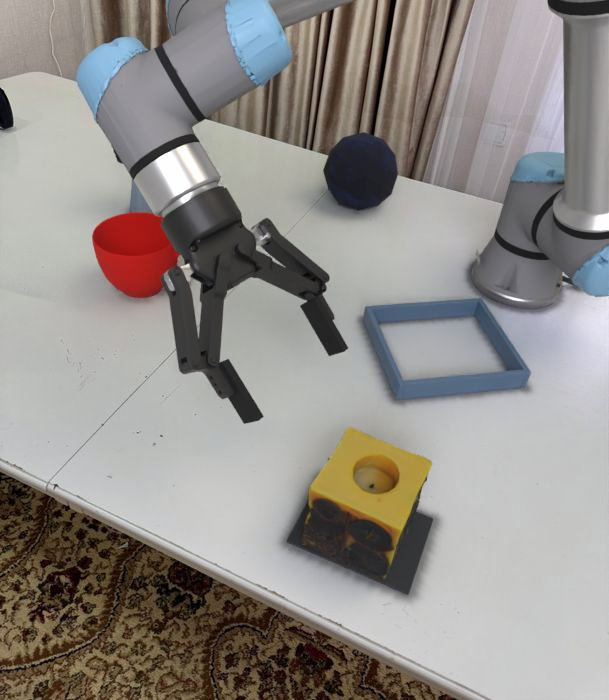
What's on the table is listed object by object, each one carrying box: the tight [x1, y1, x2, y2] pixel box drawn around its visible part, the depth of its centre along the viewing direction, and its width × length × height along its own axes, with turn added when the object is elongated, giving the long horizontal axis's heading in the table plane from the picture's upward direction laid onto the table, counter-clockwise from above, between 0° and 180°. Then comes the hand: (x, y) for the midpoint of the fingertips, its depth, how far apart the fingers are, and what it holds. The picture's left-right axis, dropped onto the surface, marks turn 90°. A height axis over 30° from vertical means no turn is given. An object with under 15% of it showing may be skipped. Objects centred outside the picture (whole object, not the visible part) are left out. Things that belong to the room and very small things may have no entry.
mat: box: [286, 499, 434, 596], centre depth 70 cm, size 14×10×1 cm
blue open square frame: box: [362, 297, 532, 401], centre depth 93 cm, size 20×18×3 cm
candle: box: [300, 426, 433, 581], centre depth 67 cm, size 10×10×10 cm
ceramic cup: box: [91, 212, 181, 299], centre depth 98 cm, size 13×17×10 cm
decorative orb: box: [322, 131, 399, 211], centre depth 123 cm, size 14×15×15 cm
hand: (299, 384), depth 64 cm, fingers open, 13 cm apart
